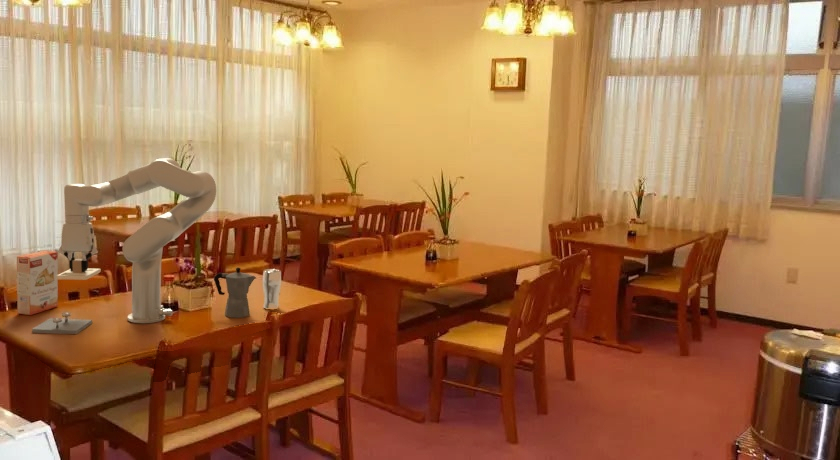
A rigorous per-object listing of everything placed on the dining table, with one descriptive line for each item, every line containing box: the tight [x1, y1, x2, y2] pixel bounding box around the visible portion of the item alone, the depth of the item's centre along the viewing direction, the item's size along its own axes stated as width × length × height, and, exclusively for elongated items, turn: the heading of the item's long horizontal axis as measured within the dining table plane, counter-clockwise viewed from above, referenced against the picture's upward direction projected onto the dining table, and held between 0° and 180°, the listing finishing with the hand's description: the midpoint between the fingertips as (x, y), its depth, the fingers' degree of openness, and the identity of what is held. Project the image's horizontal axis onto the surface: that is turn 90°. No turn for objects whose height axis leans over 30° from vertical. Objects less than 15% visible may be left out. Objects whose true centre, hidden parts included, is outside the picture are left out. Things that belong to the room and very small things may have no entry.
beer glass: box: [262, 268, 282, 308], centre depth 275 cm, size 7×7×15 cm
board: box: [31, 317, 93, 335], centre depth 237 cm, size 14×13×1 cm
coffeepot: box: [213, 267, 257, 319], centre depth 263 cm, size 15×9×18 cm, turn 92°
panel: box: [56, 258, 102, 281], centre depth 250 cm, size 10×13×6 cm
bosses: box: [53, 312, 72, 328], centre depth 237 cm, size 3×10×3 cm, turn 4°
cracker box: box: [16, 250, 59, 316], centre depth 255 cm, size 14×6×21 cm, turn 168°
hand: (78, 270), depth 250 cm, fingers closed on panel, 3 cm apart
